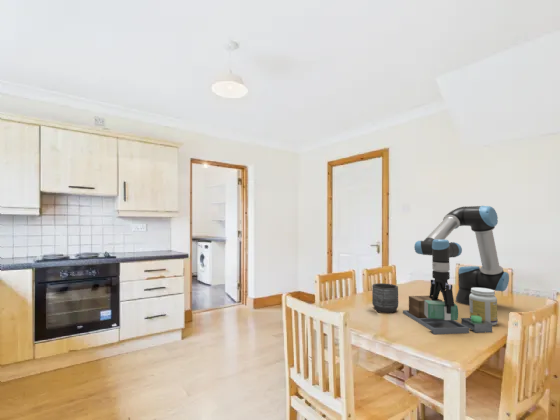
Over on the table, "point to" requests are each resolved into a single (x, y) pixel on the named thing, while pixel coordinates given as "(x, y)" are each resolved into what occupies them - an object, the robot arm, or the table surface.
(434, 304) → the box
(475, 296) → the supplement tub
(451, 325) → the grey divided tray
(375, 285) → the planter
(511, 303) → the table surface
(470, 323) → the square metal sleeve
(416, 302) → the walnut block
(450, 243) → the robot arm
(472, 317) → the button
